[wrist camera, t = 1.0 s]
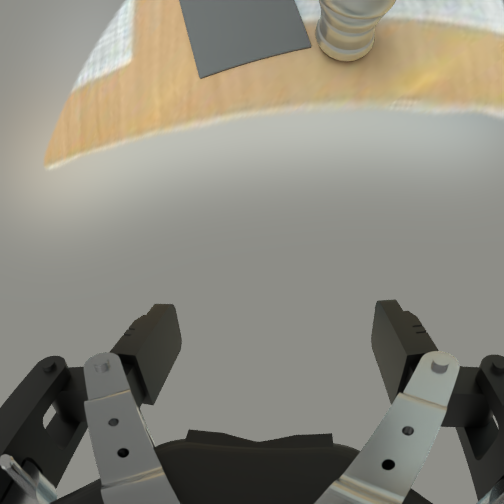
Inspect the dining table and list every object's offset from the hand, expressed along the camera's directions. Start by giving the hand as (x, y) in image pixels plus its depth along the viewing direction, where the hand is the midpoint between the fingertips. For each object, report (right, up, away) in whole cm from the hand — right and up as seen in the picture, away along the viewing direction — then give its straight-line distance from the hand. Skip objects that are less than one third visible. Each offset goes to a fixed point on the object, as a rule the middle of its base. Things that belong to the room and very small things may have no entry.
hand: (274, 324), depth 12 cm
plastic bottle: (+10, +27, +17) cm, 34 cm away
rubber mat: (-3, +34, +17) cm, 38 cm away
